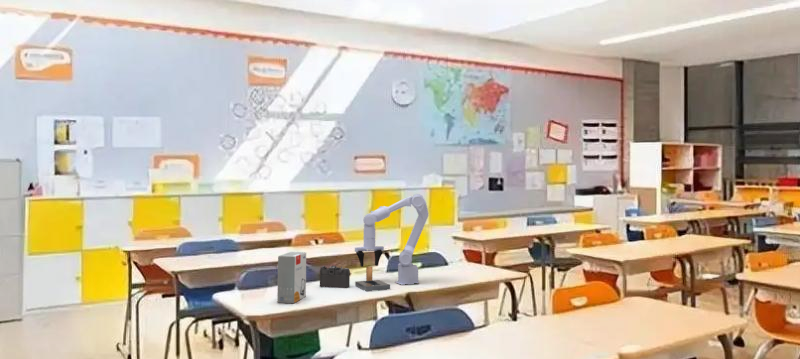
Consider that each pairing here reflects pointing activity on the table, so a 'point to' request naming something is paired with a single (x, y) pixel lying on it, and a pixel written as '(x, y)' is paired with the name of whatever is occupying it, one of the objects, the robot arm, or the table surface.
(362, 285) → the keyhole plate
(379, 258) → the robot arm
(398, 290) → the table surface
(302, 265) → the hard drive box
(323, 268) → the camera
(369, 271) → the peg
